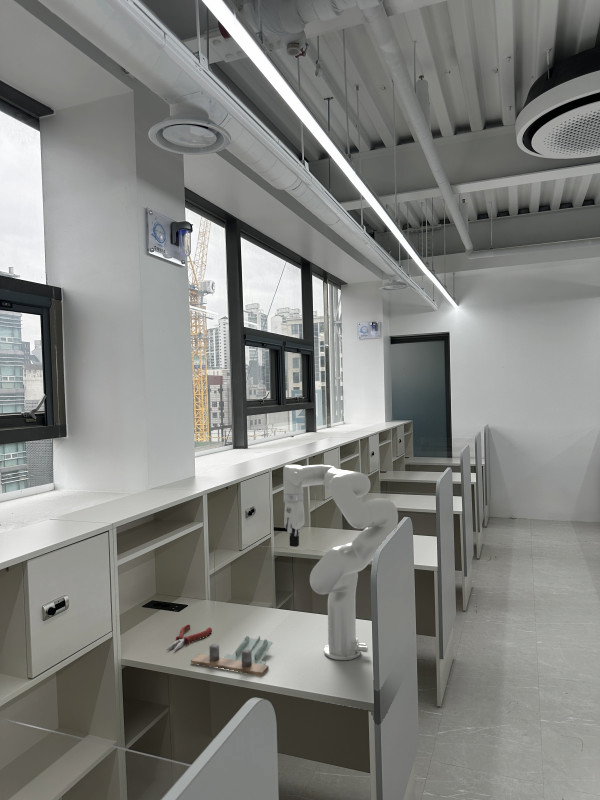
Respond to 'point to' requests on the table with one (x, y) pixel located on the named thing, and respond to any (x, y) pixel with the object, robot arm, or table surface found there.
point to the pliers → (188, 637)
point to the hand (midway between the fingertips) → (294, 545)
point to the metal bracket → (252, 649)
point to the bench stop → (231, 662)
